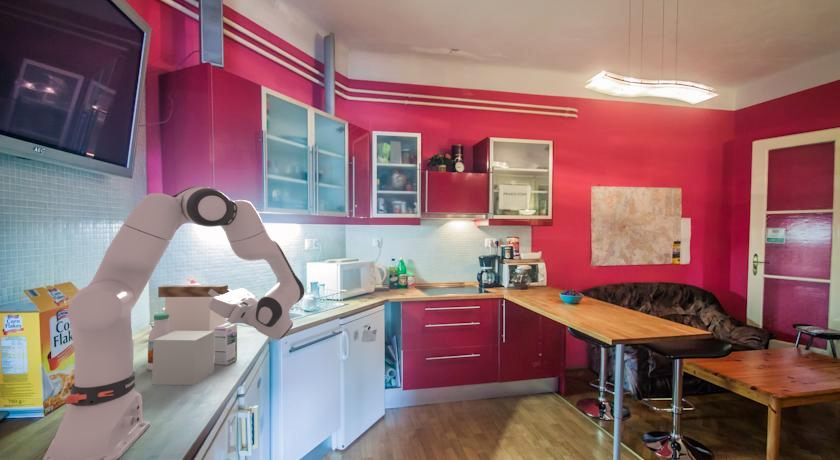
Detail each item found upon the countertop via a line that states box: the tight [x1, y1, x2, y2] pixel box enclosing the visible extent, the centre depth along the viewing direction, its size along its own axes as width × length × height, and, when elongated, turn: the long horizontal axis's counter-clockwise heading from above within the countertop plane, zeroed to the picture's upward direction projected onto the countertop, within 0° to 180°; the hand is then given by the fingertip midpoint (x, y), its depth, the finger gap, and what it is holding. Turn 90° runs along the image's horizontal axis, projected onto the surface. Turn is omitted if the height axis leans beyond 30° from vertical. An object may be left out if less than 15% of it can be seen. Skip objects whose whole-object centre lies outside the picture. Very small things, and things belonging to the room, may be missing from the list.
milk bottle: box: [147, 312, 173, 372], centre depth 131 cm, size 8×8×20 cm
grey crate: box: [151, 331, 215, 386], centre depth 122 cm, size 14×11×15 cm
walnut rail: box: [157, 284, 229, 298], centre depth 122 cm, size 22×4×4 cm, turn 91°
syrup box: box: [214, 323, 238, 366], centre depth 137 cm, size 6×6×14 cm
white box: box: [164, 297, 227, 332], centre depth 147 cm, size 18×12×26 cm, turn 91°
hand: (214, 289), depth 122 cm, fingers closed on walnut rail, 3 cm apart
